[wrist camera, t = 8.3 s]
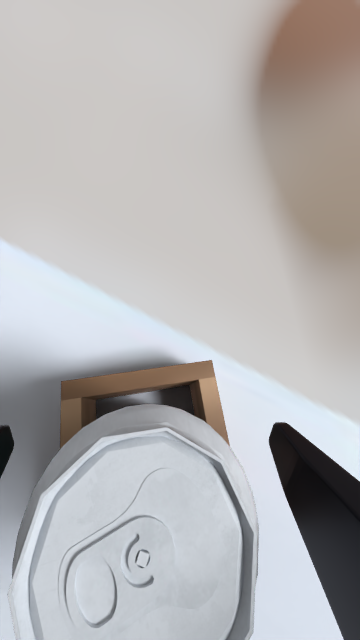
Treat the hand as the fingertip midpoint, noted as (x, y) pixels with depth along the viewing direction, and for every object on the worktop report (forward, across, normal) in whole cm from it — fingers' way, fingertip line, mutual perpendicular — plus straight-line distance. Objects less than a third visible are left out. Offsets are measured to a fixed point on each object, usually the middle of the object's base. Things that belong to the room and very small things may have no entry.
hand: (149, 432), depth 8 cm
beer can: (+5, 0, +7) cm, 8 cm away
